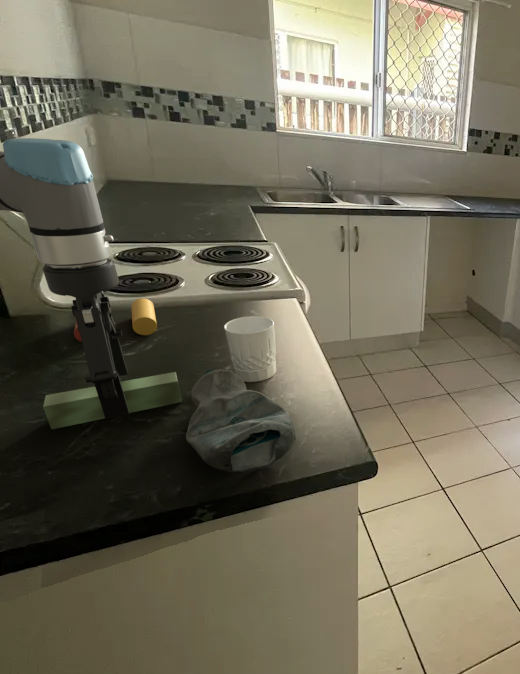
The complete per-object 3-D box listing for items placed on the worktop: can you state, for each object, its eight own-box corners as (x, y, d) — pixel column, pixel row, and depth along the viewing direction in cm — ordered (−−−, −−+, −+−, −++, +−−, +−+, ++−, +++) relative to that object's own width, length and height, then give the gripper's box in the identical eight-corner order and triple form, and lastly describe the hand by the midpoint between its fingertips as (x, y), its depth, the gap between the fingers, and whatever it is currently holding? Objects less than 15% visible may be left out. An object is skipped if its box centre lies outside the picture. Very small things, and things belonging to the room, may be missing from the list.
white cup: (283, 378, 87) (277, 329, 83) (235, 388, 83) (226, 336, 79) (275, 360, 93) (269, 313, 89) (229, 368, 89) (221, 319, 85)
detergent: (309, 457, 68) (261, 379, 85) (301, 418, 65) (252, 345, 82) (206, 500, 61) (175, 405, 78) (191, 458, 57) (162, 368, 74)
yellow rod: (158, 333, 99) (154, 315, 97) (135, 336, 97) (130, 318, 95) (155, 313, 108) (151, 297, 106) (133, 316, 105) (129, 299, 104)
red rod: (103, 341, 94) (98, 322, 92) (77, 344, 92) (71, 326, 90) (104, 319, 102) (99, 302, 101) (80, 322, 100) (75, 305, 98)
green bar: (51, 429, 69) (42, 406, 67) (53, 417, 71) (45, 395, 70) (182, 402, 78) (177, 381, 76) (180, 392, 80) (175, 371, 79)
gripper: (112, 285, 58) (151, 428, 67) (113, 238, 76) (144, 356, 85) (28, 292, 54) (81, 444, 62) (50, 242, 72) (89, 365, 80)
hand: (117, 394), depth 73 cm, fingers open, 13 cm apart
